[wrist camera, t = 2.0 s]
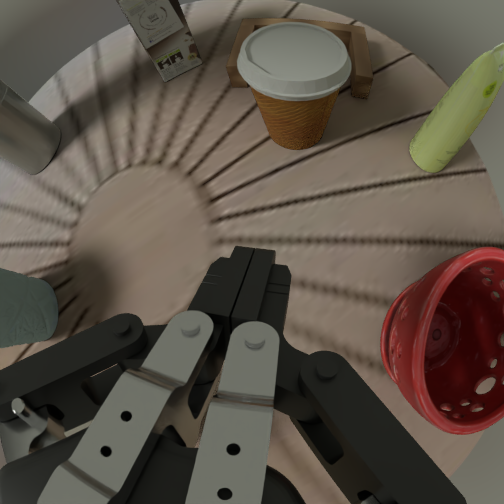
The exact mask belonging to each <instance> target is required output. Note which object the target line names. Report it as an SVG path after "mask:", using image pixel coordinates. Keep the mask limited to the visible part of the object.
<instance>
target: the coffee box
mask: <svg viewBox="0 0 504 504" xmlns="http://www.w3.org/2000/svg"><path fill="white" fill-rule="evenodd" d="M116 1H117V2H118V4H119V6H120V8H121V9H122V11H123V13H124V14H125V16H126V18H127V20H128V21H129V23H130V25H131V27H132V28H133V30H134V32H135V33H136V35H137V37H138V38H139V40H140V42H141V43H142V45H143V47H144V48H145V50H146V52H147V53H148V55H149V57H150V58H151V60H152V62H153V63H154V65H155V67H156V68H157V70H158V72H159V73H160V75H161V77H162V78H163V80H164V82H167V81H168V80H170V79H172V78H174V77H176V76H178V75H180V74H182V73H184V72H186V71H188V70H190V69H192V68H194V67H196V66H198V65H200V64H202V60H201V58H200V55H199V52H198V50H197V47H196V45H195V42H194V39H193V37H192V34H191V32H190V29H189V27H188V24H187V22H186V19H185V17H184V14H183V12H182V9H181V7H180V4H179V2H178V0H116Z"/></svg>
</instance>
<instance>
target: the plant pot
mask: <svg viewBox="0 0 504 504" xmlns="http://www.w3.org/2000/svg"><path fill="white" fill-rule="evenodd" d="M483 267H488V268H491V269H492V270H489V269H485V268H483ZM484 278H489V279H490V280H491V281H487V280H485V279H484ZM502 280H504V250H502V249H499V248H496V247H479V248H475V249H472V250H469V251H467V252H465V253H462V254H459V255H457V256H455V257H453V258H451V259H449V260H447V261H445V262H443V263H441V264H440V265H438V266H437V267H435V268H433V269H432V270H431V271H429V272H428V273H427V274H425V275H424V276H423V277H422V278H421V279H420V280H419V281H417V282H415V283H413V284H411V285H410V286H408V287H407V288H406V289H405V290H404V291H403V292H402V293H401V294H400V295H399V296H398V297H397V298H396V299H395V301H394V302H393V304H392V305H391V307H390V309H389V310H388V312H387V315H386V317H385V320H384V323H383V327H382V331H381V340H380V342H381V343H380V347H381V356H382V361H383V364H384V367H385V369H386V371H387V373H388V374H389V376H390V377H391V379H392V380H393V381H394V382H395V383H396V384H397V385H398V387H399V389H400V391H401V393H402V394H403V396H404V397H405V398H406V400H407V401H408V402H409V403H410V404H411V406H412V407H413V408H414V409H415V410H416V411H417V412H418V413H419V414H420V415H421V416H422V417H423V418H425V419H426V420H427V421H428V422H430V423H431V424H432V425H434V426H435V427H437V428H438V429H440V430H442V431H444V432H447V433H450V434H457V435H466V434H472V433H475V432H478V431H481V430H484V429H486V428H488V427H489V426H491V425H493V424H494V423H496V422H497V421H499V420H500V419H501V418H503V417H504V385H503V381H504V347H503V346H502V345H501V342H500V338H501V335H502V334H503V333H504V282H503V281H502ZM493 291H496V292H498V294H499V296H500V298H497V297H496V296H495V295H494V294H493ZM494 359H497V364H496V366H495V367H494V368H491V367H490V366H491V363H492V361H493V360H494ZM490 377H493V378H495V379H496V382H495V384H494V386H493V387H492V389H491V390H490V391H489V392H487V393H485V394H477V393H476V389H477V387H478V386H479V385H480V383H482V382H483V381H484V380H486V379H487V378H490ZM463 403H470V404H469V405H466V406H462V405H461V404H463ZM476 408H484V409H482V410H481V411H478V412H472V410H474V409H476ZM443 409H448V410H450V411H446V410H443Z"/></svg>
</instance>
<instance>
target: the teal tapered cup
mask: <svg viewBox="0 0 504 504" xmlns="http://www.w3.org/2000/svg"><path fill="white" fill-rule="evenodd" d="M57 322H58V303H57V299H56V296H55V293H54V291H53V288H52V287H51V286H50V285H49V284H48V283H47V282H46V281H44V280H42V279H38V278H34V277H27V276H26V275H23V274H20V273H16V272H13V271H9V270H5V269H1V268H0V348H5V347H9V346H13V345H21V344H25V343H27V344H29V343H34V342H41V341H45V340H47V339H49V338H50V337H51V336H52V335H53V333H54V332H55V329H56V326H57Z"/></svg>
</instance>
